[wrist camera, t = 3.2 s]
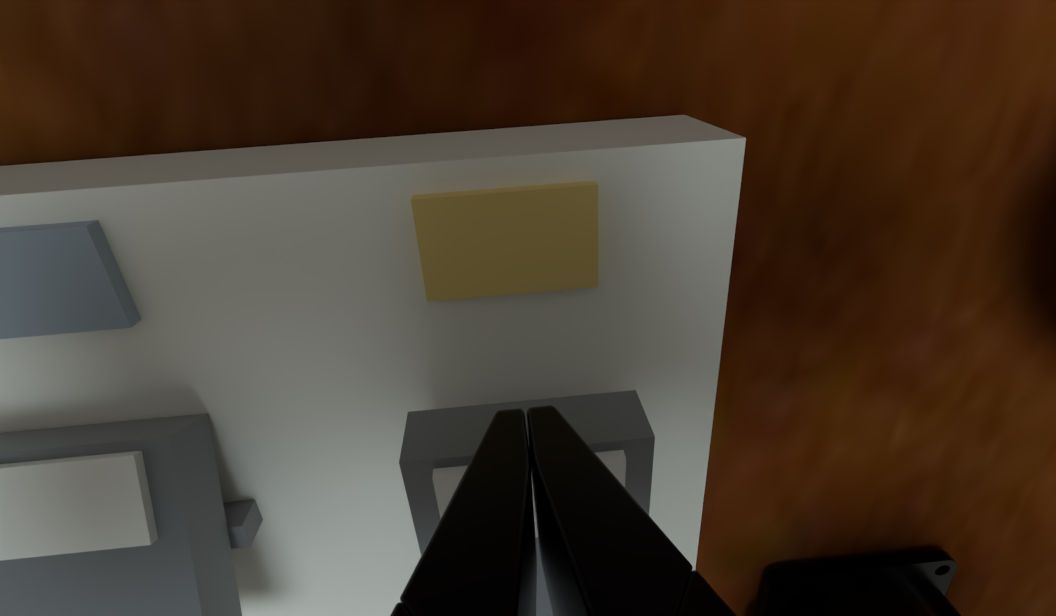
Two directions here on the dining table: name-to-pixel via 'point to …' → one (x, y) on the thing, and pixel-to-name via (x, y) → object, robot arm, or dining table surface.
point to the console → (371, 316)
